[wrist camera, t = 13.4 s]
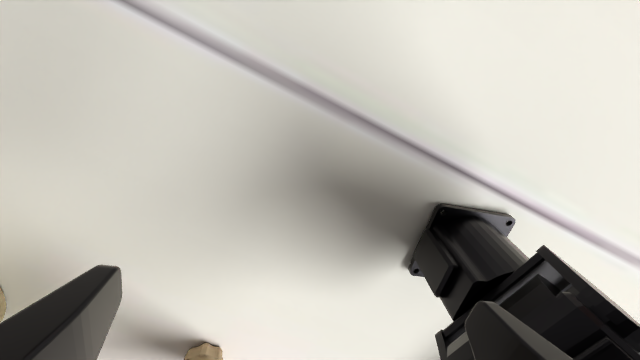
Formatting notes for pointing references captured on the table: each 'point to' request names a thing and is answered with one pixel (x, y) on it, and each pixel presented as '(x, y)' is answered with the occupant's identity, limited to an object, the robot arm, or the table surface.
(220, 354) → the handle
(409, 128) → the table surface
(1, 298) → the planter bowl
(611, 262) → the table surface
